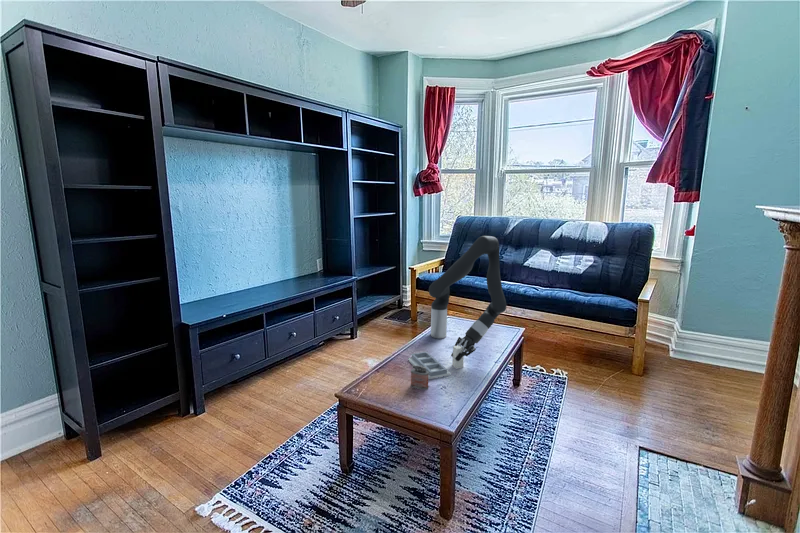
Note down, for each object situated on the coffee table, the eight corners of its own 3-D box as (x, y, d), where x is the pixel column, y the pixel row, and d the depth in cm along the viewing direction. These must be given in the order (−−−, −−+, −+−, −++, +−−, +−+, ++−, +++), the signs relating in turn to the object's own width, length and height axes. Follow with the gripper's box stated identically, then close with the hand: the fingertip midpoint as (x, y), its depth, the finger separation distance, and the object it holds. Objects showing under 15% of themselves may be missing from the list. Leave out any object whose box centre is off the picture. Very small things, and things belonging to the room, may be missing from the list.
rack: (408, 360, 197) (408, 354, 196) (429, 356, 201) (429, 351, 201) (427, 379, 177) (427, 373, 176) (450, 375, 181) (450, 368, 181)
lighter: (429, 386, 170) (429, 365, 169) (427, 390, 167) (427, 368, 165) (411, 383, 173) (412, 362, 171) (409, 387, 170) (409, 366, 168)
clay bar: (452, 365, 191) (453, 346, 190) (459, 364, 193) (460, 345, 191) (455, 368, 188) (456, 349, 186) (463, 367, 190) (463, 347, 188)
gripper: (464, 322, 196) (442, 348, 194) (480, 331, 183) (457, 360, 181) (473, 331, 199) (451, 357, 197) (489, 340, 186) (466, 368, 184)
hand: (454, 358), depth 189 cm, fingers closed on clay bar, 3 cm apart
